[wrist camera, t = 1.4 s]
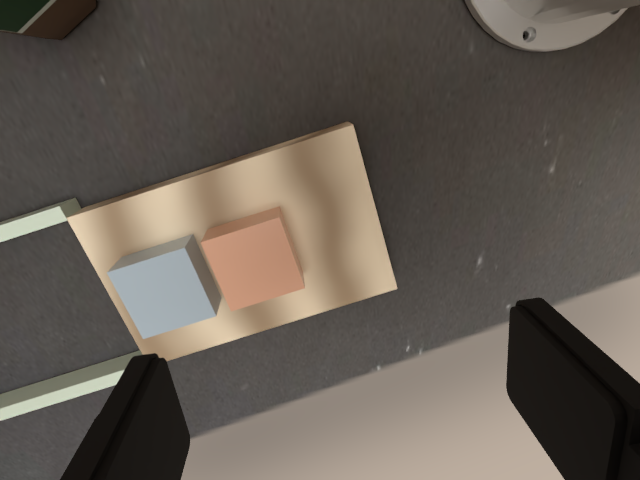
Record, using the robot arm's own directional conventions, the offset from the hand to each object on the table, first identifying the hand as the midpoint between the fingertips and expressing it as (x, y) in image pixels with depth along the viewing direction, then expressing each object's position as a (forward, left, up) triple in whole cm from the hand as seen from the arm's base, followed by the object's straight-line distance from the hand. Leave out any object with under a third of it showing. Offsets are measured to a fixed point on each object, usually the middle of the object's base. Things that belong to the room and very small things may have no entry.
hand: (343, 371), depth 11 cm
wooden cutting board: (+5, +2, -20) cm, 21 cm away
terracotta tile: (+4, +2, -17) cm, 18 cm away
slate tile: (+10, +2, -17) cm, 20 cm away
